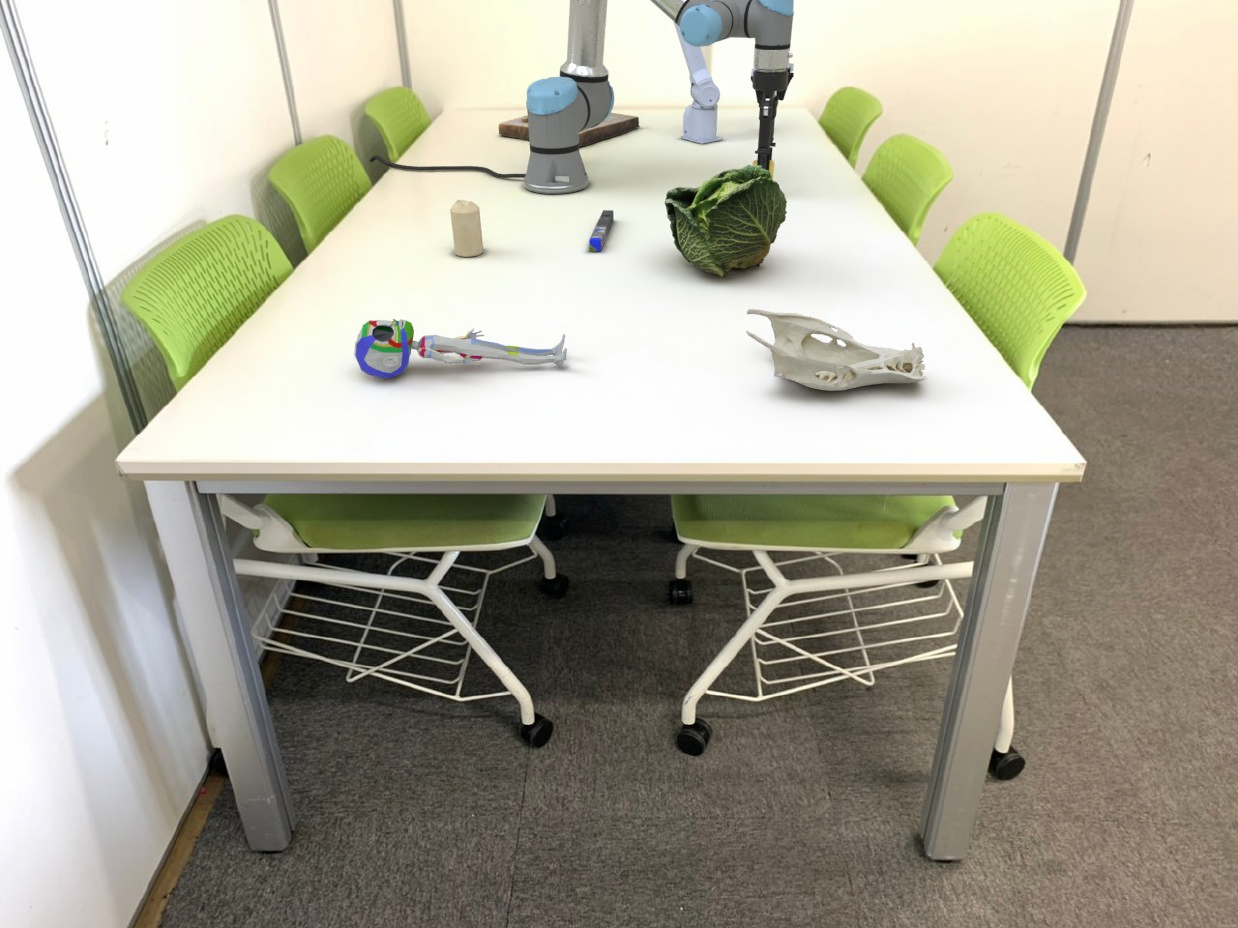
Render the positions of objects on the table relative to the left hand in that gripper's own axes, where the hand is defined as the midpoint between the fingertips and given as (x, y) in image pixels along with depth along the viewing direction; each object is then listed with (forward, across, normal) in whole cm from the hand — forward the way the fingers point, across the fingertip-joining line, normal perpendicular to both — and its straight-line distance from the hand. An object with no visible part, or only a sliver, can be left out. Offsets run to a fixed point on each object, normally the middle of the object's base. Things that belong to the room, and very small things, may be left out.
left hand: (763, 179), depth 205 cm
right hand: (-6, +59, +4) cm, 60 cm away
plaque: (+3, +56, +62) cm, 83 cm away
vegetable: (+3, -50, +2) cm, 50 cm away
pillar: (+3, -36, +29) cm, 46 cm away
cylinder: (0, 0, 0) cm, 0 cm away
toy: (+3, -99, +34) cm, 105 cm away
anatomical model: (+3, -92, -18) cm, 94 cm away
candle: (+3, -51, +52) cm, 73 cm away
